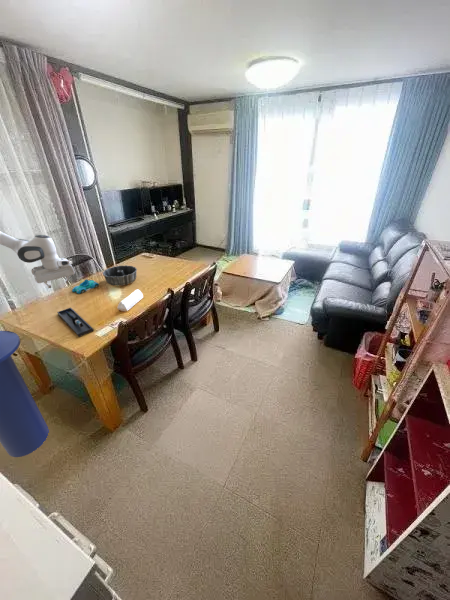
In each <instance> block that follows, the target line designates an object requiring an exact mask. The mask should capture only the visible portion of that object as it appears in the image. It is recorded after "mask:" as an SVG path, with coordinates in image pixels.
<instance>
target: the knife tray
mask: <svg viewBox="0 0 450 600" xmlns="http://www.w3.org/2000/svg"><path fill="white" fill-rule="evenodd" d="M66 311H67V312H68V313H69V314H70V315H72V316H73V317H74V318H75V317H78V320H79V321H80V322H81V323H82V324H83V327H79V326H78V325H77V324H75V325H74V324H73V320H72V318H70V317H69V315H68V314H67V313H66ZM57 316H58V317H59V318H60V319H61V320H62V321H63V322H64V323H65V324H66V325H67V326H68V328H69V329H70V330H71V331H73V333H74V334H75V335H76V336H77V337H78V338H81V337H83V336H85V335H87V334H90V333H92V332H94V328H93V327H92V326H91V325H90V324H89V323H88V322H87V321H86V320H85V319H84V318H83V317H82V316H80V315H79V314H78V313H77V312H76V311H75V310H74V309H73V308H72V307H68V308H65V309H62V310H59V311H57Z"/></svg>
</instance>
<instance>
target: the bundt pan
mask: <svg viewBox="0 0 450 600" xmlns="http://www.w3.org/2000/svg"><path fill="white" fill-rule="evenodd" d="M137 272H138V269H137V267H136V266H133V265H128V264H127V265H117V266H112V267H108V268H107V269H104V270H103V272H102V276H103V277H104V279H105V281H106V283H107V284H108V285H110V286H116V287H119V286H120V287H122V286H123V287H124V286H128V285H129V284H130V285H131V284H132V283H133V282H135V281H136V279H137Z"/></svg>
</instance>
